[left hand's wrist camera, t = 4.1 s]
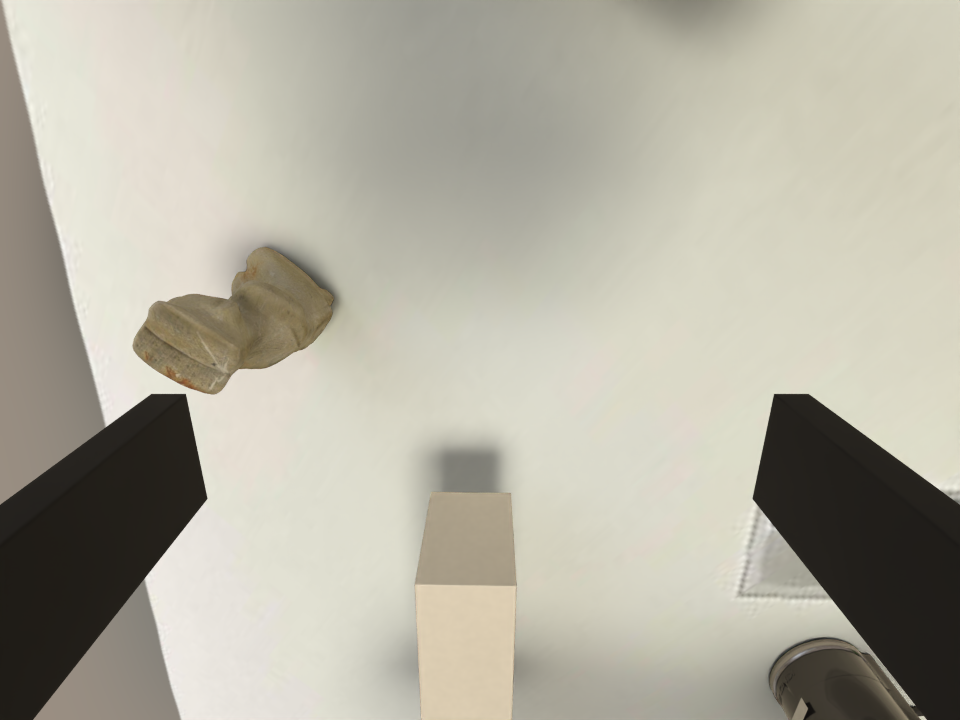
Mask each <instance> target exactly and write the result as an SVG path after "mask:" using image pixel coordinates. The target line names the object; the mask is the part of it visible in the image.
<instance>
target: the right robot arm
mask: <svg viewBox="0 0 960 720" xmlns="http://www.w3.org/2000/svg"><path fill="white" fill-rule="evenodd" d="M769 682H770V688H771V690H772V692H773V694H774V696H775V698H776V699H777V701H778V703H779V704H780V705H781V707H782V708H783V710H784V712H785V714H786V716H787V718H788V719H789V720H920V718H919V717H918V716H924V715H923V714H922V713H921V711H920V710H919V709H918V708H917V707H913V708H911V707H910V705H909V704H908V703H907V702H906V700H905V699H904V698H903V696H902V695H901V694H900V693H899V691H898V690H897V689H896V687H895V686H894V685H893V684H892V682H891V681H890V680H889V678H888V677H887V676H886V675H885V673H884V672H883V671H882V669H881V668H880V667H879V666H878V664H877V663H876V662H875V660H874V659H873V658H872V657H871V655H868V654H861V653H860V651H859V650H858V649H857V648H855V647H854V646H852V645H851V644H849V643H846V642H843V641H840V640H833V639H821V640H814V641H810V642H807V643H803V644H801V645H799V646H797V647H794V648H793V649H791V650H789V651H788V652H787V653H785V654H784V655H783V656H782V657H781V658H780V659H779V660H778V661H777V662H776V664H775V665H774V667H773V669H772V671H771V674H770V680H769Z"/></svg>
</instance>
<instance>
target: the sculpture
mask: <svg viewBox="0 0 960 720" xmlns="http://www.w3.org/2000/svg"><path fill="white" fill-rule="evenodd" d="M333 300H334V298H333V296H332V295H331V294H330V293H329V292H328V291H327V290H325V289H321V288H320V287H318V286H317V285H316V283H315V282H314V281H313V280H312V279H311V278H310V277H309V276H308V275H307V274H306V273H305V272H303V271H302V270H301V269H300V268H298V267H297V266H296V265H295V264H293V263H292V262H291V261H290V260H288V259H287V258H286V257H284V256H283V255H281V254H280V253H278V252H276V251H274V250H272V249H270V248H267V247H262V248H258V249H256V250H255V251H253V252H252V253H251V255H250V256H249V257H248V259H247V270H246V272H238V273H237V275H236V276H235V278H234V280H233V282H232V296H231V297H230V298H229V299H223V298H217V297H211V296H205V295H200V294H189V295H185V296H182V297H176V298H173V299H171V300H169V301H168V302H164V301H157V302H155V303H154V304H153V305H152V306H151V307H150V308H149V312H148V317H147V319H146V321H145V323H144V324H143V325H142V327H141V328H140V330H139V331H138V333H137V334H136V336H135V338H134V341H133V350H134V351H135V353H136V354H137V355H138V356H139V357H140V358H141V359H142V360H143V361H144V362H145V363H147V364H148V365H149V366H151V367H152V368H153V369H155V370H156V371H158V372H159V373H161V374H163V375H165V376H166V377H168V378H170V379H172V380H174V381H175V382H177V383H179V384H181V385H183V386H185V387H188V388H190V389H194V390H197V391H200V392H203V393H207V394H217V393H218V392H220V391H221V390H222V389H223V388H224V386H225V385H226V383H227V382H228V380H229V379H230V377H231V375H232V374H233V373H234V372H236V371H237V370H238V369H263V368H267V367H270V366H272V365H274V364H276V363H278V362H280V361H281V360H283V359H285V358H286V357H288V356H289V355H290V354H292V353H293V352H296V351H298V350H303V349H305V348H306V347H308V346H309V345H310V344H312V343H313V342H314V341H315V340H316V338H317V337H318V336H319V335H320V334H321V332H322V331H323V330H324V328H325V327H326V325H327V324H328V322H329V321H330V319H331V317H332V314H333V313H332V309H331V307H330V306H331V304H332V302H333Z"/></svg>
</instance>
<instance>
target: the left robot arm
mask: <svg viewBox="0 0 960 720" xmlns="http://www.w3.org/2000/svg"><path fill="white" fill-rule="evenodd" d="M206 500H207V494H206V490H205V485H204V480H203V475H202V470H201V465H200V461H199V456H198V451H197V446H196V441H195V436H194V431H193V427H192V422H191V417H190V412H189V407H188V402H187V397H186V394H151V395H150V396H148V397H147V398H145V399H144V400H143V401H141V402H140V403H139V404H137V405H136V406H135V407H133V408H132V409H130V410H129V411H128V412H126V413H125V414H124V415H122V416H121V417H119V418H118V419H117V420H115V421H114V422H113V423H111V424H110V425H109V426H107V427H106V428H104V429H103V430H102V431H100V432H99V433H98V434H96V435H95V436H94V437H92V438H91V439H89V440H88V441H87V442H85V443H84V444H83V445H81V446H80V447H79V448H77V449H76V450H74V451H73V452H72V453H70V454H69V455H68V456H66V457H65V458H64V459H62V460H61V461H59V462H58V463H57V464H55V465H54V466H53V467H51V468H50V469H48V470H47V471H46V472H44V473H43V474H42V475H40V476H39V477H38V478H36V479H35V480H34V481H32V482H31V483H29V484H28V485H27V486H25V487H24V488H23V489H21V490H20V491H18V492H17V493H16V494H14V495H13V496H12V497H10V498H9V499H8V500H6V501H5V502H3V503H2V504H1V505H0V720H33V719H34V718H35V717H36V715H37V714H38V713H39V711H40V710H41V709H42V708H43V706H44V705H45V704H46V703H47V701H48V700H49V699H50V698H51V696H52V695H53V694H54V692H55V691H56V690H57V689H58V687H59V686H60V685H61V684H62V682H63V681H64V680H65V679H66V677H67V676H68V675H69V673H70V672H71V671H72V670H73V668H74V667H75V666H76V665H77V663H78V662H79V661H80V660H81V658H82V657H83V656H84V654H85V653H86V652H87V651H88V649H89V648H90V647H91V646H92V644H93V643H94V642H95V640H96V639H97V638H98V637H99V635H100V634H101V633H102V632H103V630H104V629H105V628H106V627H107V625H108V624H109V623H110V621H111V620H112V619H113V618H114V616H115V615H116V614H117V613H118V611H119V610H120V609H121V607H122V606H123V605H124V604H125V603H126V601H127V600H128V599H129V597H130V596H131V595H132V594H133V592H134V591H135V590H136V589H137V587H138V586H139V585H140V583H141V582H142V581H143V580H144V578H145V577H146V576H147V575H148V573H149V572H150V571H151V570H152V568H153V567H154V566H155V565H156V563H157V562H158V561H159V559H160V558H161V557H162V556H163V554H164V553H165V552H166V551H167V549H168V548H169V547H170V546H171V544H172V543H173V542H174V540H175V539H176V538H177V537H178V535H179V534H180V533H181V532H182V530H183V529H184V528H185V527H186V525H187V524H188V523H189V521H190V520H191V519H192V518H193V516H194V515H195V514H196V513H197V511H198V510H199V509H200V508H201V506H202V505H203V504H204V502H205V501H206ZM753 500H754V501H755V502H756V504H757V505H758V506H759V508H760V509H761V510H762V511H763V513H764V514H765V515H766V516H767V518H768V519H769V520H770V521H771V523H772V524H773V525H774V527H775V528H776V529H777V530H778V532H779V533H780V534H781V535H782V537H783V538H784V539H785V540H786V542H787V543H788V544H789V546H790V547H791V548H792V549H793V551H794V552H795V553H796V554H797V556H798V557H799V558H800V559H801V561H802V562H803V563H804V565H805V566H806V567H807V568H808V570H809V571H810V572H811V573H812V575H813V576H814V577H815V578H816V580H817V581H818V582H819V584H820V585H821V586H822V587H823V589H824V590H825V591H826V592H827V594H828V595H829V596H830V597H831V599H832V600H833V601H834V603H835V604H836V605H837V606H838V608H839V609H840V610H841V611H842V613H843V614H844V615H845V616H846V618H847V619H848V620H849V622H850V623H851V624H852V625H853V627H854V628H855V629H856V630H857V632H858V633H859V634H860V635H861V637H862V638H863V639H864V641H865V642H866V643H867V644H868V646H869V647H870V648H871V649H872V651H873V652H874V653H875V654H876V656H877V657H878V658H879V660H880V661H881V662H882V663H883V665H884V666H885V667H886V668H887V670H888V671H889V672H890V673H891V675H892V676H893V677H894V679H895V680H896V681H897V682H898V684H899V685H900V686H901V687H902V689H903V690H904V691H905V692H906V694H907V695H908V696H909V698H910V699H911V700H912V701H913V703H914V704H915V705H916V706H917V708H918V709H919V710H920V711H921V713H922V714H923V715H924V717H925V718H926V719H927V720H960V505H959V504H958V503H957V502H955V501H954V500H952V499H951V498H950V497H948V496H947V495H946V494H944V493H943V492H942V491H940V490H939V489H937V488H936V487H935V486H933V485H932V484H931V483H929V482H928V481H927V480H925V479H924V478H922V477H921V476H920V475H918V474H917V473H916V472H914V471H913V470H912V469H910V468H909V467H907V466H906V465H905V464H903V463H902V462H901V461H899V460H898V459H896V458H895V457H894V456H892V455H891V454H890V453H888V452H887V451H886V450H884V449H883V448H881V447H880V446H879V445H877V444H876V443H875V442H873V441H872V440H871V439H869V438H868V437H866V436H865V435H864V434H862V433H861V432H860V431H858V430H857V429H856V428H854V427H853V426H851V425H850V424H849V423H847V422H846V421H845V420H843V419H842V418H841V417H839V416H838V415H836V414H835V413H834V412H832V411H831V410H830V409H828V408H827V407H825V406H824V405H823V404H821V403H820V402H819V401H817V400H816V399H815V398H813V397H812V396H810V395H809V394H774V397H773V402H772V407H771V412H770V417H769V422H768V427H767V431H766V436H765V441H764V446H763V451H762V456H761V460H760V465H759V470H758V475H757V480H756V485H755V490H754V494H753Z"/></svg>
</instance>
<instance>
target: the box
mask: <svg viewBox="0 0 960 720" xmlns="http://www.w3.org/2000/svg"><path fill="white" fill-rule="evenodd" d="M516 588H517V586H516V569H515V553H514V536H513V520H512V503H511V493H474V492H431V495H430V501H429V506H428V512H427V518H426V524H425V529H424V535H423V541H422V546H421V552H420V558H419V564H418V569H417V575H416V581H415V600H416V621H417V642H418V663H419V684H420V705H421V720H512V702H513V673H514V645H515V617H516Z"/></svg>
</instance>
